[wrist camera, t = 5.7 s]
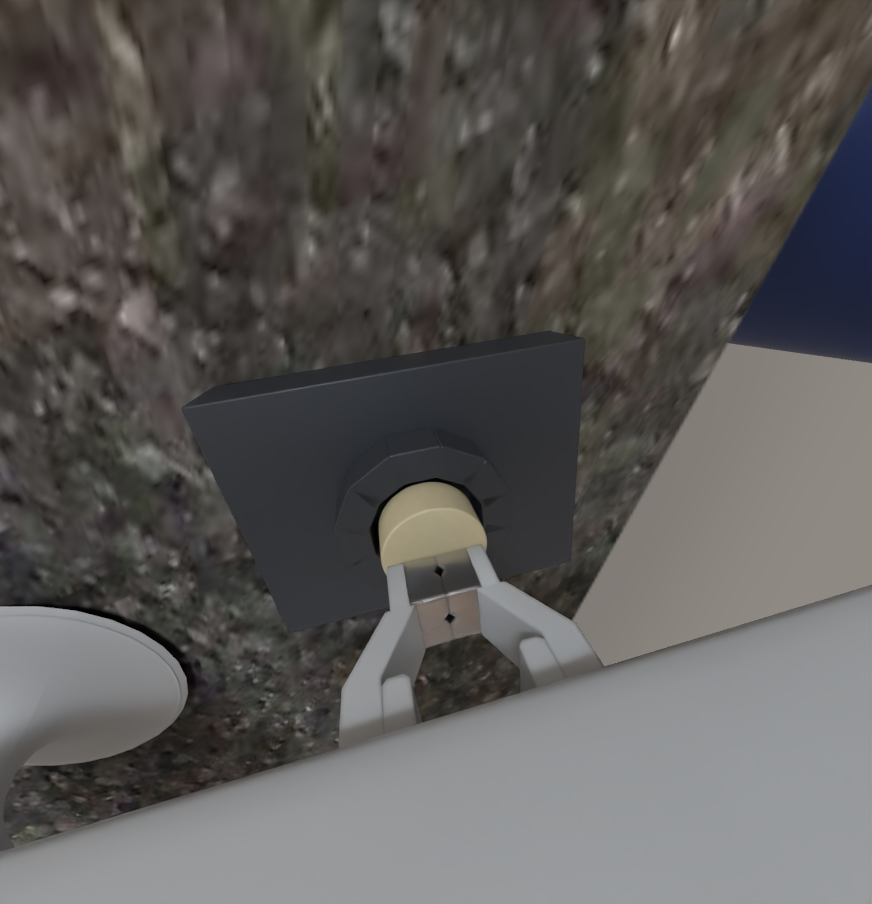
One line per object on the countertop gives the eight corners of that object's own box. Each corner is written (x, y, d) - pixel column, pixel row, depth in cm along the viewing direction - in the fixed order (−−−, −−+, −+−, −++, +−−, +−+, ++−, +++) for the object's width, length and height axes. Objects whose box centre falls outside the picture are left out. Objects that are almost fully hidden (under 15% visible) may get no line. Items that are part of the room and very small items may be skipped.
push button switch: (468, 471, 12) (484, 497, 11) (476, 547, 14) (490, 580, 12) (369, 492, 12) (370, 523, 10) (388, 569, 13) (392, 605, 12)
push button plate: (549, 330, 15) (619, 344, 11) (545, 529, 20) (592, 589, 16) (212, 386, 13) (147, 427, 9) (298, 588, 18) (281, 673, 14)
